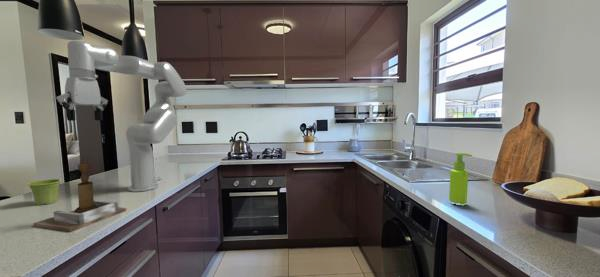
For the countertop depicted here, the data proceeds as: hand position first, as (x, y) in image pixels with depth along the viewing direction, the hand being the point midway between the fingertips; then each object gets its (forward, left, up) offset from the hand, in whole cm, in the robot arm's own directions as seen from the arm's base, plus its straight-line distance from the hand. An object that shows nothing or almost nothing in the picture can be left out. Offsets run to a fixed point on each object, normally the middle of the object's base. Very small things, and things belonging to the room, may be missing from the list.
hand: (85, 120), depth 97 cm
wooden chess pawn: (+11, +13, -32) cm, 37 cm away
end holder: (+11, +12, -33) cm, 37 cm away
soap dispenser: (-37, +141, -34) cm, 150 cm away
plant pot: (+3, -20, -34) cm, 39 cm away
